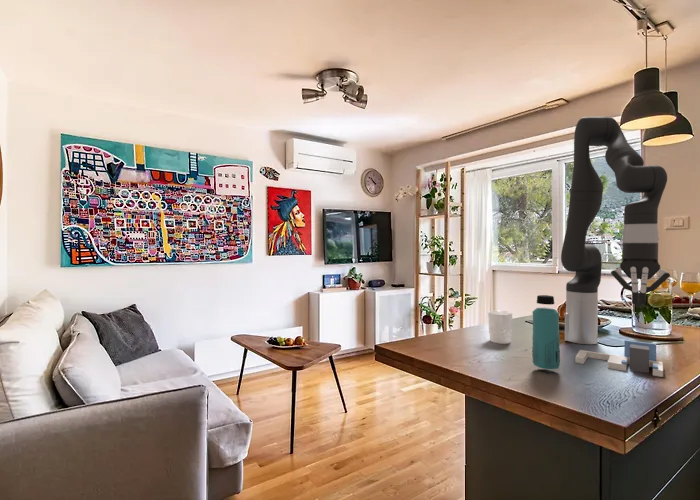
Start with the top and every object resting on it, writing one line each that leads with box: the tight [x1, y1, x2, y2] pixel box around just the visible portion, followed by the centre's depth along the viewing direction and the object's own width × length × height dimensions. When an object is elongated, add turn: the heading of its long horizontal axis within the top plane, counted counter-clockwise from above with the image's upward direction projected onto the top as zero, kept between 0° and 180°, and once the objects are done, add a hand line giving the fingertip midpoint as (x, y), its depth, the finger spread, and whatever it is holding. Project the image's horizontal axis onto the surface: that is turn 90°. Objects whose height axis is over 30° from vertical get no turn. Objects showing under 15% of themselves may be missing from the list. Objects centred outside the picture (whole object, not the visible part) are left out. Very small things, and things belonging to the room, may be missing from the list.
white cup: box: [487, 310, 513, 345], centre depth 129 cm, size 8×8×10 cm
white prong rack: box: [574, 339, 664, 378], centre depth 103 cm, size 19×10×6 cm, turn 51°
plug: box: [629, 344, 650, 374], centre depth 100 cm, size 4×4×6 cm
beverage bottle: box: [531, 294, 561, 370], centre depth 98 cm, size 6×7×20 cm
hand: (638, 306), depth 100 cm, fingers closed
